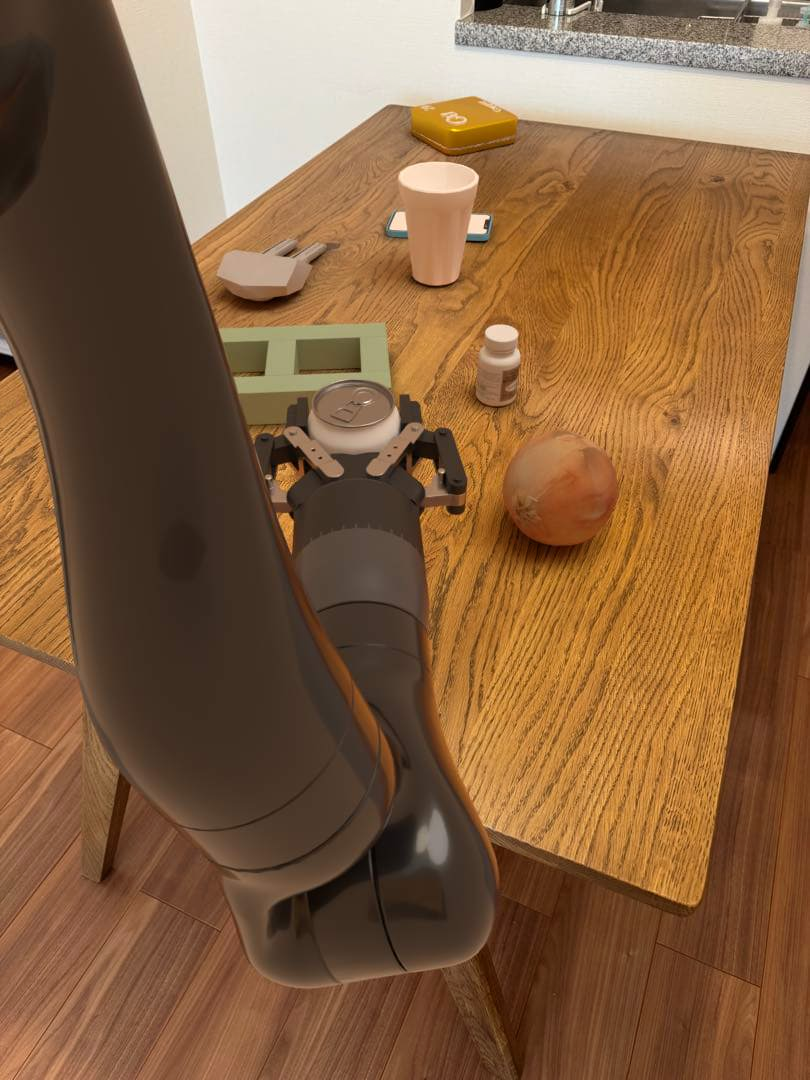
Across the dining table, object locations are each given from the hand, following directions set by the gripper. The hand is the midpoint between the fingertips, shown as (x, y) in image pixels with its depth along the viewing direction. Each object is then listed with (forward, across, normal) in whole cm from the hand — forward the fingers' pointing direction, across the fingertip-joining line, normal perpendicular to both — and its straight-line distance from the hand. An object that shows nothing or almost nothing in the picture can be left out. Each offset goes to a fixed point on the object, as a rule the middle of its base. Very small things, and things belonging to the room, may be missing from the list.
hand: (353, 406), depth 55 cm
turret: (+54, +10, +17) cm, 57 cm away
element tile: (+107, -21, +16) cm, 110 cm away
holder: (+28, +8, +17) cm, 33 cm away
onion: (+4, -17, +17) cm, 24 cm away
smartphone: (+68, -13, +16) cm, 71 cm away
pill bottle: (+25, -15, +17) cm, 33 cm away
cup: (+53, -11, +17) cm, 56 cm away
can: (-2, 0, +10) cm, 10 cm away
